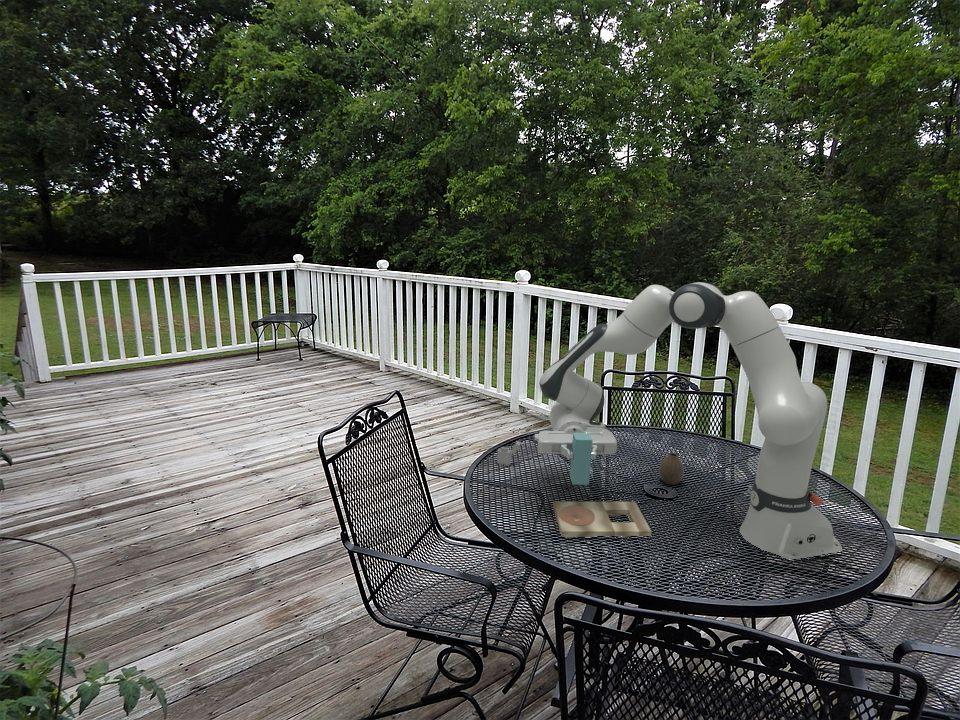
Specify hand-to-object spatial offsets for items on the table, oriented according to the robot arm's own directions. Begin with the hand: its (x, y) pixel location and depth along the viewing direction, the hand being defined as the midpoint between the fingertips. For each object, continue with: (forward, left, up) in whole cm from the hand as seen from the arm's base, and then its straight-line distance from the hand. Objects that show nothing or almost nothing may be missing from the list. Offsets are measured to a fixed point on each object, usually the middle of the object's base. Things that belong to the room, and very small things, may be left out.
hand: (581, 456), depth 140 cm
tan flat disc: (0, -1, -17) cm, 17 cm away
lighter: (+15, -34, -19) cm, 42 cm away
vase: (-32, -23, -19) cm, 44 cm away
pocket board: (-6, -1, -19) cm, 20 cm away
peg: (0, -1, -7) cm, 7 cm away
